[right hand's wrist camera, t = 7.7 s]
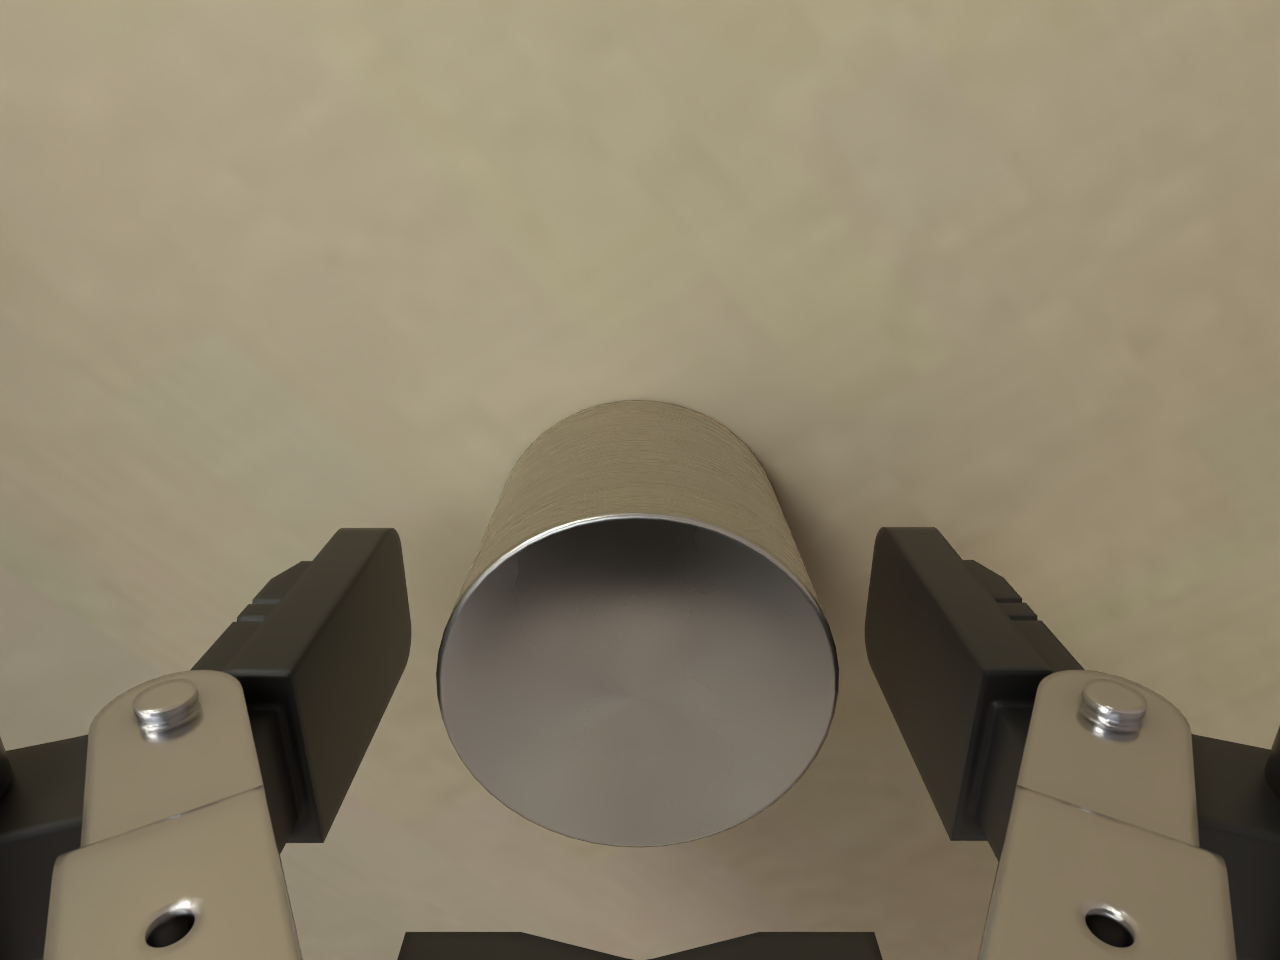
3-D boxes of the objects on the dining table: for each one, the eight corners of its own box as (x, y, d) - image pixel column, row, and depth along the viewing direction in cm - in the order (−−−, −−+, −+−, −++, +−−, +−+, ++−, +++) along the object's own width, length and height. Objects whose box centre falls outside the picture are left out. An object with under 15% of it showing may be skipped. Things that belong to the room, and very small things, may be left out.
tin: (753, 665, 14) (798, 865, 10) (491, 639, 14) (431, 832, 10) (802, 416, 12) (881, 537, 8) (505, 383, 12) (439, 490, 8)
